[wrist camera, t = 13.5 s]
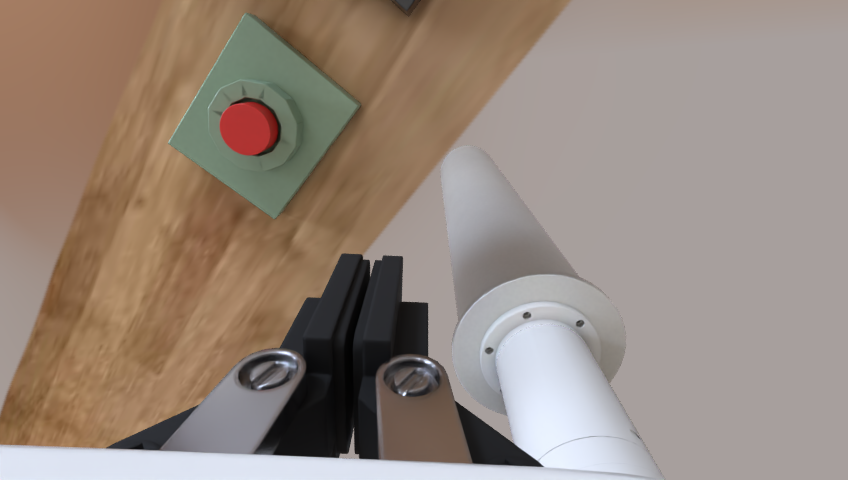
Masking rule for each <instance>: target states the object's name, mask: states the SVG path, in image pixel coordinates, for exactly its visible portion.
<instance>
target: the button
mask: <svg viewBox="0 0 848 480" xmlns="http://www.w3.org/2000/svg"><path fill="white" fill-rule="evenodd" d="M220 133H221V136H222V138H223V140H224V141H225V143H226V144H227V145H228V146H229V147H230V148H231V149H232V150H234V151H235V152H237V153H239V154H242V155H256V154H259V153H261V152H263V151H265V150H267V149H269V148H270V147H271V146H272V145H273V144H274V143H275V141H276V139H277V136H278V124H277V121H276V119H275V117H274V115H273V114H272V112H271V111H270V110H269V109H268V108H266V107H265V106H263V105H261V104H259V103H255V102H245V103H239V104H234V105H232V106H230V107H228V108H227V109H226V110H225V111H224V112H223V114H222V116H221V119H220Z"/></svg>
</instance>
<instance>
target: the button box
mask: <svg viewBox="0 0 848 480" xmlns="http://www.w3.org/2000/svg"><path fill="white" fill-rule="evenodd" d="M245 102H255V103H259V104H261V105H263V106H265V107H266V108H268V109H269V110H270V111H271V112H272V114H273V115H274V117H275V119H276V121H277V124H278V136H277V139H276V141H275V143H274V144H273V145H272V146H271V147H270V148H269V149H267V150H265V151H263V152H261V153H259V154H256V155H242V154H239V153H237V152H235V151H234V150H232V149H231V148H230V147H229V146H228V145H227V144H226V143H225V141H224V140H223V138H222V136H221V133H220V119H221V116H222V114H223V112H224V111H225V110H226V109H227V108H228V107H230V106H232V105H234V104H239V103H245ZM360 106H361V103H359V102H358V101H357V100H356V99H355V98H353V97H352V96H351V95H350V94H349V93H347V92H346V91H345V90H344V89H343V88H341V87H340V86H339V85H338V84H337V83H336V82H334V81H333V80H332V79H331V78H330V77H328V76H327V75H326V74H325V73H324V72H322V71H321V70H320V69H319V68H318V67H316V66H315V65H314V64H313V63H312V62H310V61H309V60H308V59H307V58H306V57H304V56H303V55H302V54H301V53H300V52H298V51H297V50H296V49H295V48H294V47H292V46H291V45H290V44H289V43H288V42H286V41H285V40H284V39H283V38H282V37H280V36H279V35H278V34H277V33H276V32H274V31H273V30H272V29H271V28H270V27H268V26H267V25H266V24H265V23H264V22H262V21H261V20H260V19H259V18H258V17H256V16H255V15H252V14H249V13H245V14H244V16H243V17H242V19H241V21H240V22H239V24H238V26H237V27H236V29H235V31H234V33H233V34H232V36H231V38H230V39H229V41H228V43H227V44H226V46H225V48H224V49H223V51H222V53H221V54H220V56H219V58H218V60H217V61H216V63H215V65H214V66H213V68H212V70H211V71H210V73H209V75H208V76H207V78H206V80H205V81H204V83H203V85H202V87H201V88H200V90H199V92H198V93H197V95H196V97H195V98H194V100H193V102H192V103H191V105H190V107H189V109H188V110H187V112H186V114H185V115H184V117H183V119H182V120H181V122H180V124H179V125H178V127H177V129H176V130H175V132H174V134H173V136H172V137H171V139H170V141H169V142H168V144H170V145H171V146H172V147H174V148H175V149H177V150H178V151H179V152H181V153H182V154H184V155H185V156H186V157H188V158H189V159H191V160H192V161H194V162H195V163H196V164H198V165H199V166H201V167H202V168H203V169H205V170H206V171H208V172H209V173H210V174H212V175H213V176H215V177H216V178H217V179H219V180H220V181H222V182H223V183H224V184H226V185H227V186H229V187H230V188H231V189H233V190H234V191H236V192H237V193H238V194H240V195H241V196H243V197H244V198H245V199H247V200H248V201H250V202H251V203H252V204H254V205H255V206H257V207H258V208H259V209H261V210H262V211H264V212H265V213H266V214H268V215H269V216H271V217H272V218H273V219H276V218H277V217H278V216H279V215H280V214H281V213H282V212H283V210H284V209H285V208H286V206H287V205H288V204H289V202H290V201H291V200H292V198H293V197H294V196H295V194H296V193H297V191H298V190H299V189H300V187H301V186H302V185H303V183H304V182H305V181H306V179H307V178H308V177H309V175H310V174H311V173H312V171H313V170H314V168H315V167H316V166H317V164H318V163H319V162H320V160H321V159H322V158H323V156H324V155H325V154H326V152H327V151H328V150H329V148H330V147H331V145H332V144H333V143H334V141H335V140H336V139H337V137H338V136H339V135H340V133H341V132H342V131H343V129H344V128H345V126H346V125H347V124H348V122H349V121H350V120H351V118H352V117H353V116H354V114H355V113H356V112H357V110H358V109H359V108H360Z"/></svg>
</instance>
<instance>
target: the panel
mask: <svg viewBox="0 0 848 480" xmlns="http://www.w3.org/2000/svg"><path fill="white" fill-rule="evenodd" d="M391 1H392V2H393V3H394V4H395V5H396V6H397V7H398V8H399V9H400V10H401V11H403V12H404V13H405V14H406V15H407V16H408V17H409V16H410V14H411V13H412V12H413V10H414V9H415V7H416V6H417V5H418V3H419V2H420V1H421V0H391Z"/></svg>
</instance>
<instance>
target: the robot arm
mask: <svg viewBox="0 0 848 480" xmlns="http://www.w3.org/2000/svg"><path fill="white" fill-rule="evenodd" d="M402 273H403V257H402V256H383V258H382V261H381V260H375V263H374V266H373V270H372V273H371V277H370V261H369V260H363V256H362V254H342V255H341V256H340V259H339V261H338V263H337V265H336V267H335V269H334V271H333V273H332V275H331V278H330V280H329V282H328V284H327V286H326V288H325V290H324V292H323V294H322V297H321V298H307V299H306V300H305V302H304V304H303V305H302V307H301V309H300V311H299V313H298V315H297V317H296V319H295V320H294V322H293V324H292V326H291V328H290V330H289V332H288V333H287V335H286V337H285V339H284V341H283V343H282V345H281V346H280V348H272V349H265V350H261V351H258V352H255V353H252V354H250V355H248V356H247V357H245V358H243V359H242V360H241V361H239V362H238V363H237V364H236V365H235V366H234V367H233V368H232V369H231V370H230V371H229V372H228V374H227V375H226V376H225V377H224V378H223V379H222V380H221V381H220V382H219V384H218V385H217V386H216V387H215V388H214V389H213V390H212V391H211V392H210V394H209V395H208V396H207V397H206V398H205V399H204V400H203V401H202V402H201V404H199V405H197V406H195V407H193V408H191V409H189V410H186V411H184V412H182V413H180V414H178V415H176V416H173V417H171V418H169V419H167V420H165V421H162V422H160V423H158V424H156V425H154V426H152V427H149V428H147V429H145V430H143V431H141V432H138V433H136V434H134V435H132V436H130V437H128V438H125V439H123V440H121V441H119V442H117V443H114V444H113V445H111V446H109V447H107V448H79V447H52V446H24V445H0V480H665V478H664V476H663V475H662V473H661V471H660V469H659V468H658V466H657V464H656V463H655V461H654V459H653V457H652V456H651V454H650V453H649V451H648V449H647V447H646V445H645V444H644V442H643V440H642V439H641V437H640V435H639V433H638V432H637V430H636V428H635V427H634V425H633V423H632V421H631V420H630V418H629V416H628V415H627V413H626V411H625V409H624V408H623V406H622V404H621V403H620V401H619V399H618V397H617V396H616V394H615V392H614V391H613V389H612V387H611V385H610V384H609V382H608V380H607V379H606V377H605V375H604V373H603V372H602V370H601V368H600V367H599V363H600V361H601V353H602V347H601V340H600V338H599V335H598V332H597V331H596V329H595V327H594V326H593V324H592V323H591V322H590V320H589V319H588V318H587V317H586V316H585V315H584V314H582V313H581V312H580V311H578V310H577V309H575V308H573V307H570V306H568V305H566V304H562V303H558V302H548V301H541V302H531V303H527V304H524V305H520V306H518V307H515V308H513V309H511V310H509V311H507V312H506V313H504V314H503V315H501V316H500V317H499V318H498V319H497V320H496V321H495V322H494V323H492V324H491V326H490V327H489V329H488V330H487V331H486V333H485V335H484V337H483V340H482V342H481V346H480V351H479V355H480V365H481V370H482V373H483V375H484V378H485V380H486V381H487V383H488V384H489V386H490V387H491V388H492V389H493V390H494V391H495V392H497V393H498V394H499V395H501V396H503V399H504V403H505V408H506V412H507V416H508V420H509V425H510V429H511V433H512V438H513V442H514V443H512V442H511V441H510V440H508V439H507V438H505V437H504V436H503V435H501V434H500V433H499V432H497V431H496V430H494V429H493V428H492V427H490V426H489V425H488V424H486V423H485V422H483V421H482V420H481V419H479V418H478V417H476V416H475V415H474V414H472V413H471V412H470V411H468V410H467V409H466V408H464V407H463V406H461V405H460V404H459V403H457V402H456V401H455V400H454V396H453V393H452V389H451V386H450V382H449V379H448V375H447V373H446V371H445V369H444V367H443V366H441V365H440V364H439V363H438V362H437V361H435V360H433V359H431V358H429V357H428V303H419V302H402ZM525 312H526V313H525ZM353 428H354V442H355V443H354V444H355V454H359V459H351V458H339V455H340V453H342V454H347V453H348V452H349V448H350V443H351V438H352V433H353Z"/></svg>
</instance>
